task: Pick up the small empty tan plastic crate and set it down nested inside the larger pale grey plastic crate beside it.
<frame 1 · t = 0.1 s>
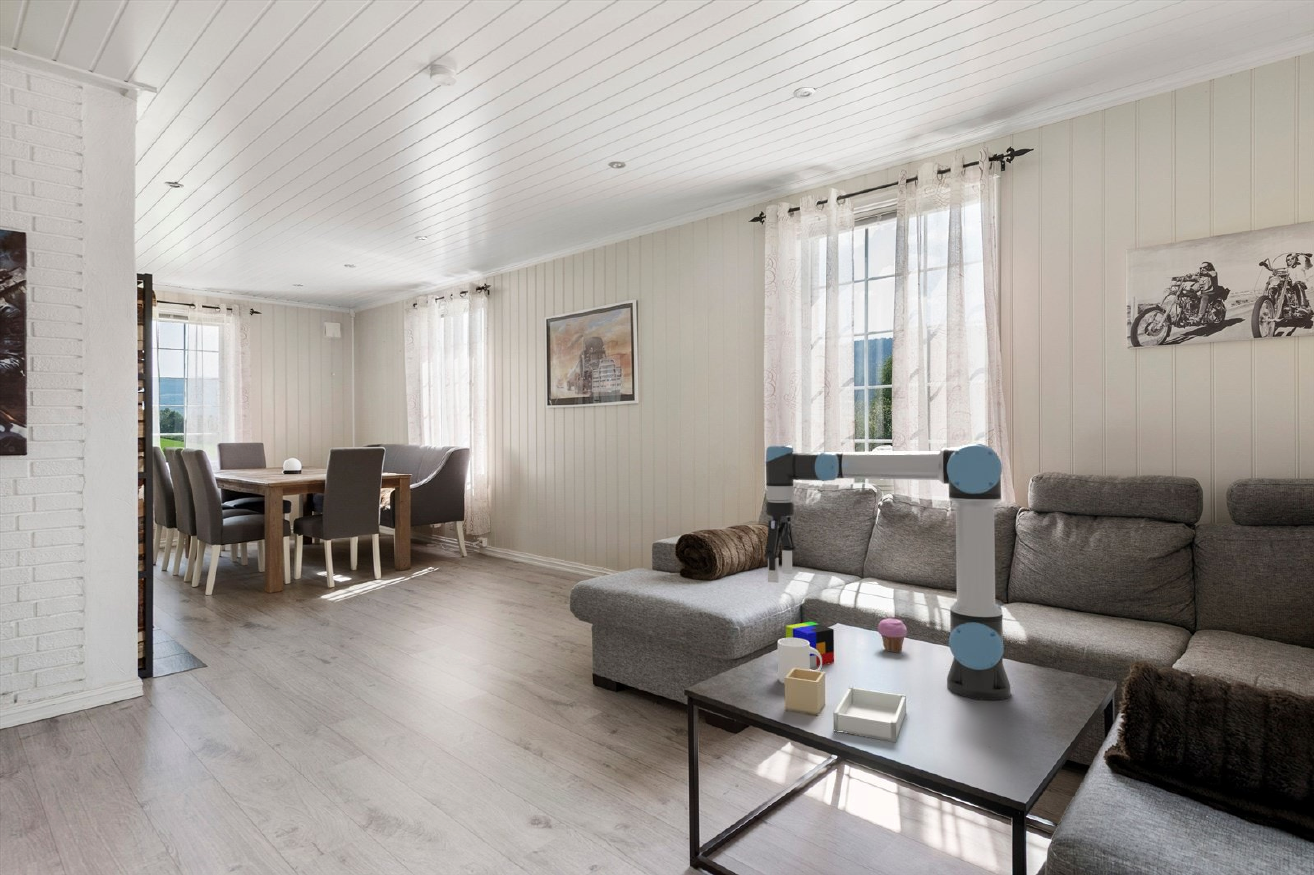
hand: (780, 577, 191), 28 cm above the table, tool pointing down, fingers open, 13 cm apart
puzzle toy: (809, 661, 206), on the table
crate: (871, 721, 161), on the table
mug: (800, 682, 189), on the table
cupcake: (892, 651, 216), on the table
small crate: (805, 707, 170), on the table
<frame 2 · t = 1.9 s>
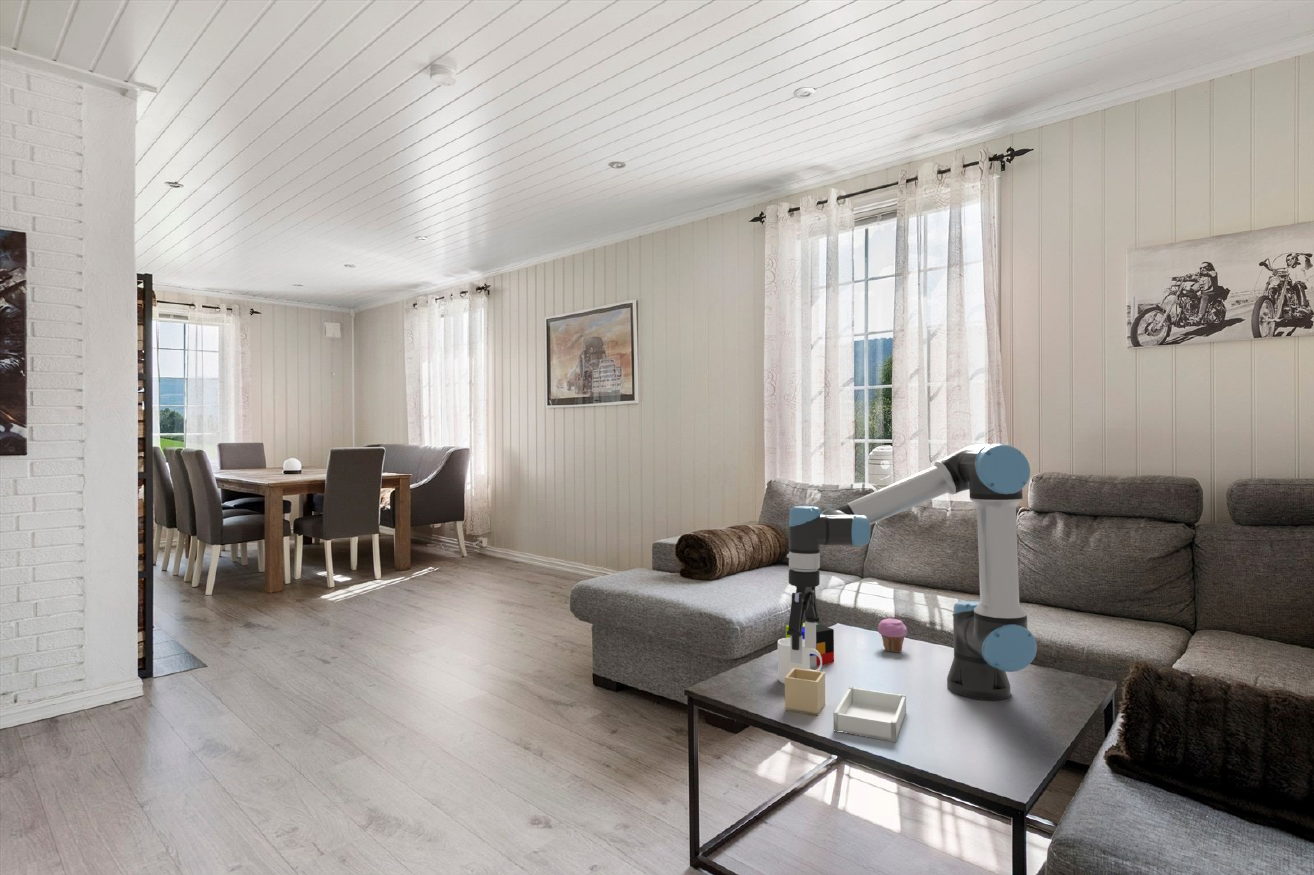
hand: (803, 655, 170), 13 cm above the table, tool pointing down, fingers open, 13 cm apart
nothing on the table moved.
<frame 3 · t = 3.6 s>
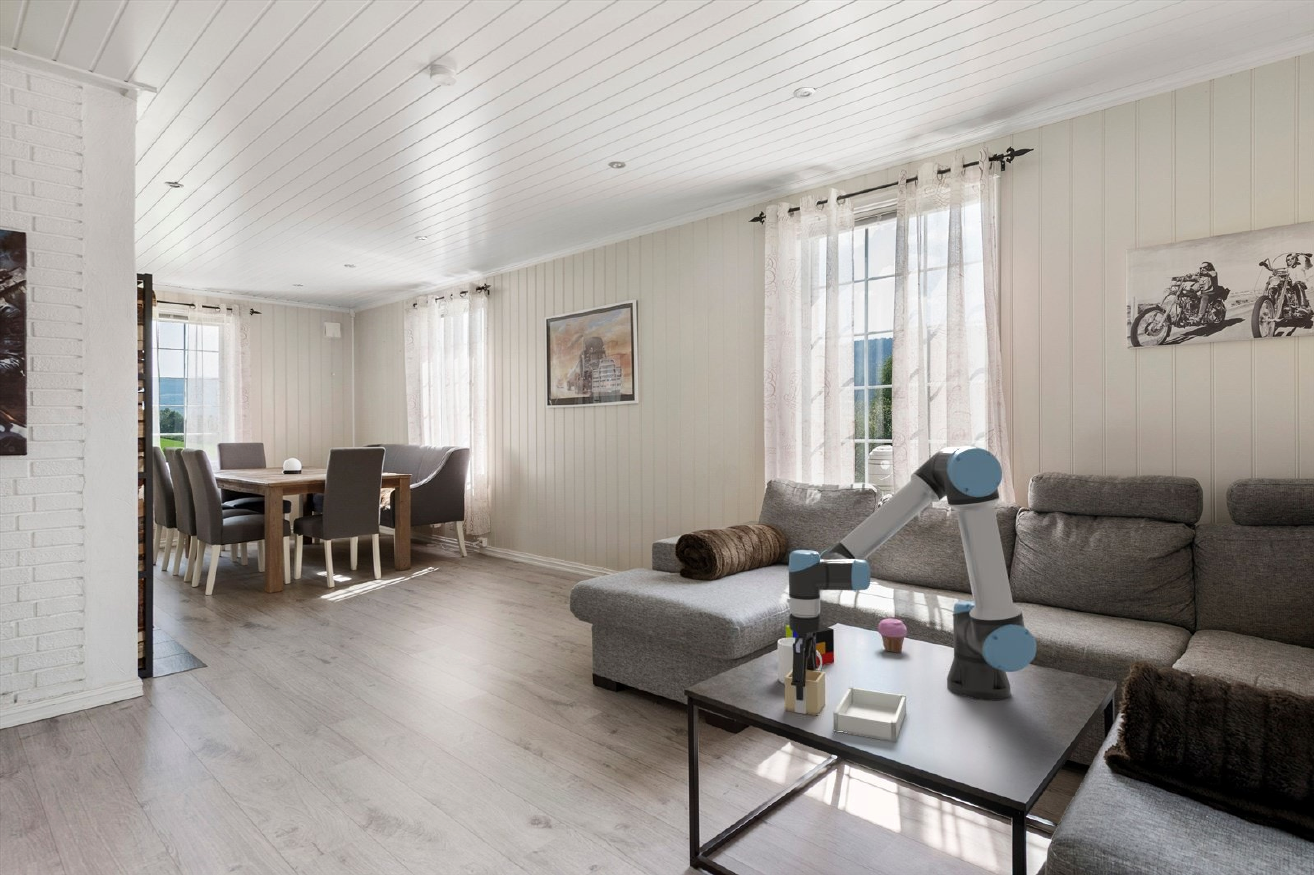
hand: (805, 706, 170), 0 cm above the table, tool pointing down, fingers closed on small crate, 8 cm apart
small crate: (805, 707, 170), on the table, touching gripper
everything else where it was.
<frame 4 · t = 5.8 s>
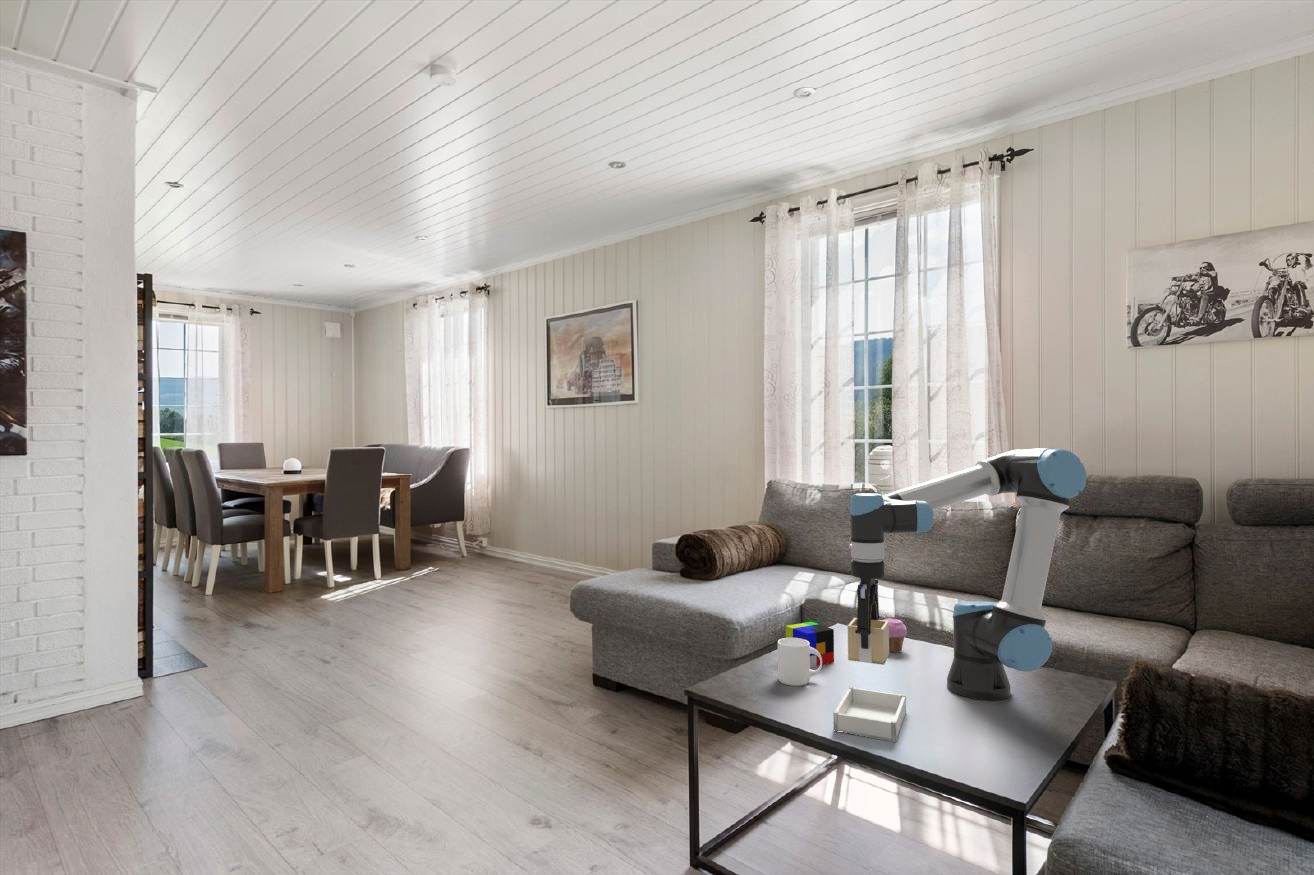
hand: (869, 656, 161), 15 cm above the table, tool pointing down, fingers closed on small crate, 8 cm apart
small crate: (868, 657, 161), point 15 cm above the table, touching gripper
everything else where it was.
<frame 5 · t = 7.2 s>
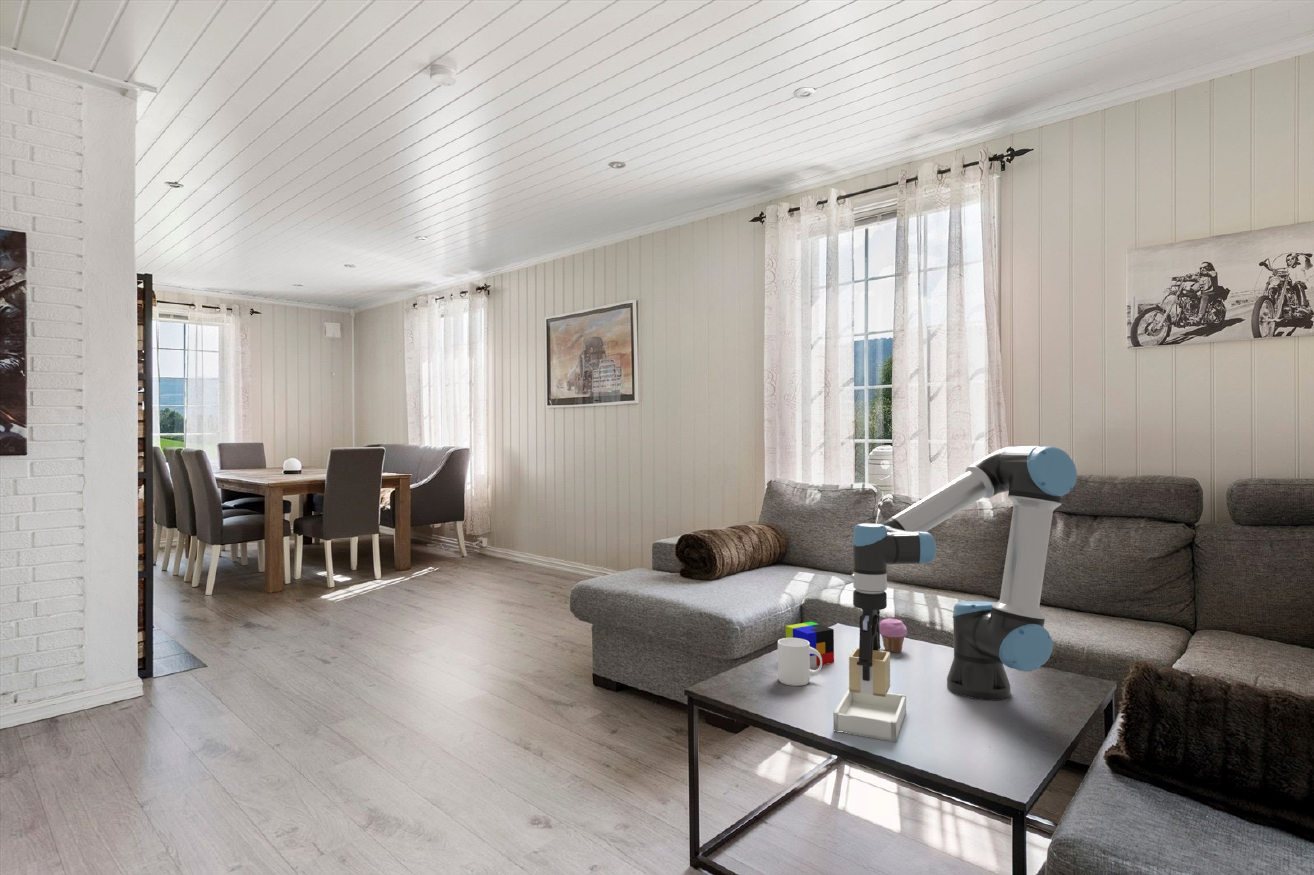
hand: (870, 687, 161), 8 cm above the table, tool pointing down, fingers closed on small crate, 8 cm apart
small crate: (869, 688, 161), point 8 cm above the table, touching gripper
everything else where it was.
when the fingers open (4 cm above the table, at t = 8.4 s): small crate drops 3 cm, resting on crate.
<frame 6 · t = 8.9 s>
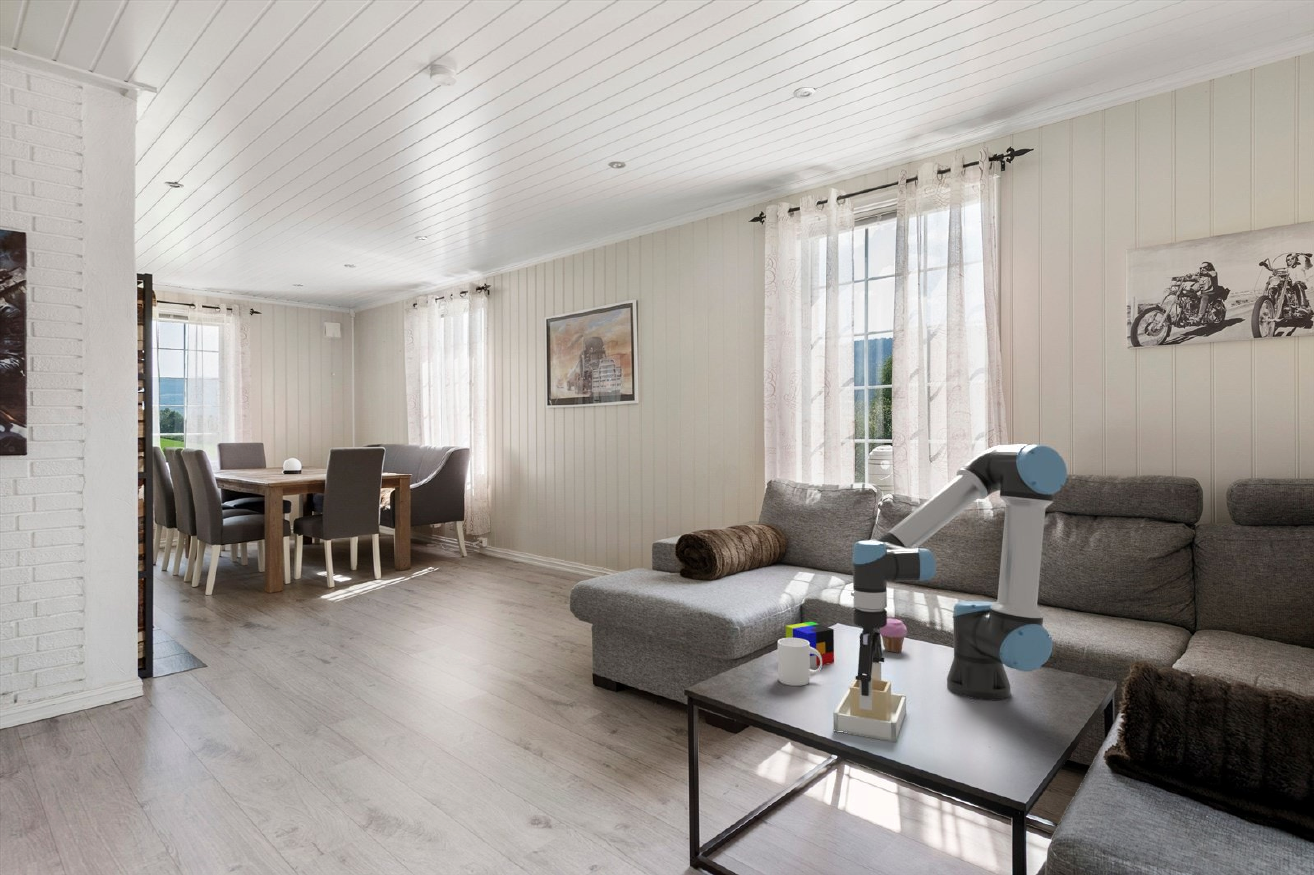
hand: (870, 699, 161), 5 cm above the table, tool pointing down, fingers open, 13 cm apart
small crate: (871, 718, 161), point 1 cm above the table, touching crate
everything else where it was.
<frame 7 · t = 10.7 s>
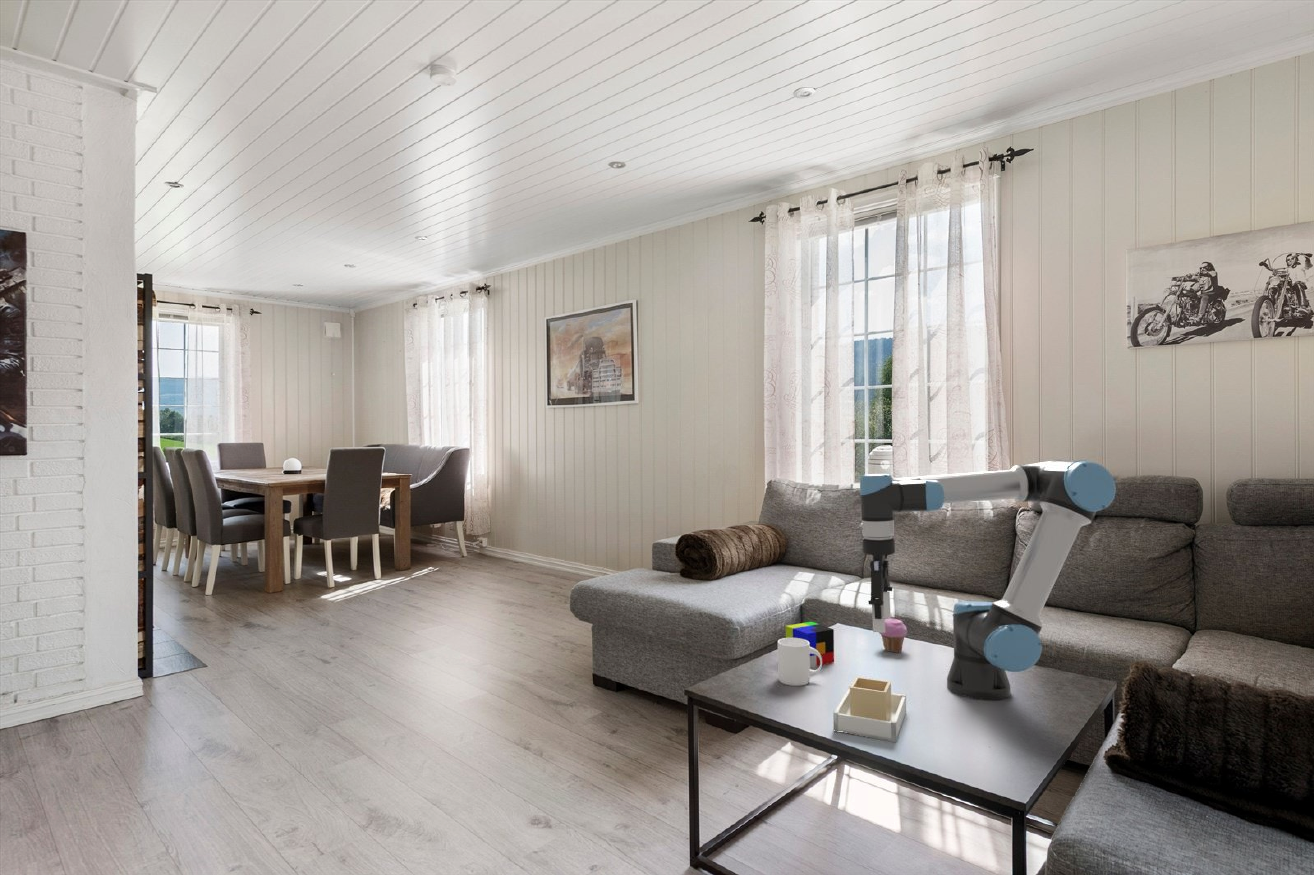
hand: (882, 624, 168), 21 cm above the table, tool pointing down, fingers open, 13 cm apart
nothing on the table moved.
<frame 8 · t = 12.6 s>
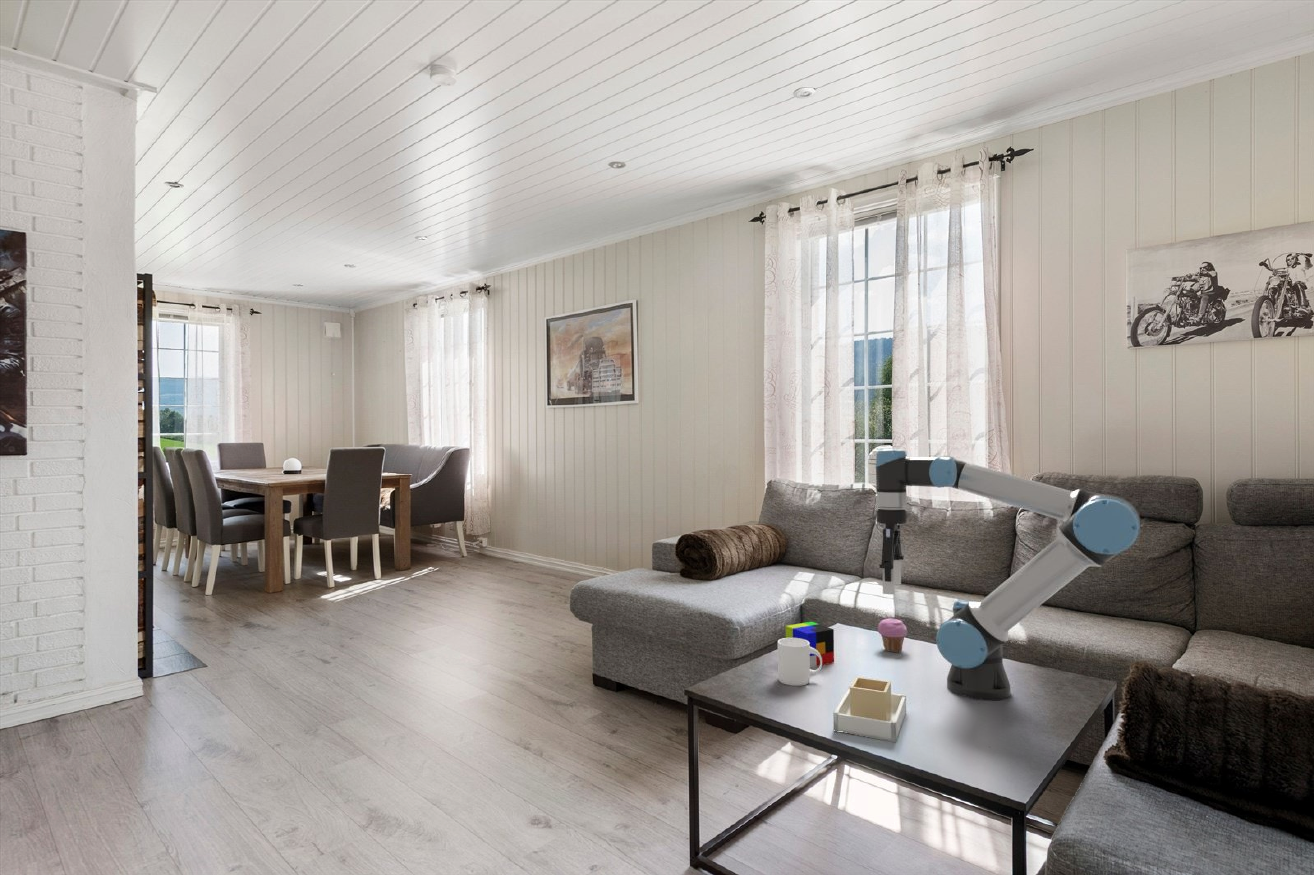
hand: (892, 589, 181), 27 cm above the table, tool pointing down, fingers open, 13 cm apart
nothing on the table moved.
at the end: small crate inside the target area on the crate (0.0 cm from its centre), point 0.6 cm above the crate's base; small crate tilted 0°; the gripper is holding nothing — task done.
